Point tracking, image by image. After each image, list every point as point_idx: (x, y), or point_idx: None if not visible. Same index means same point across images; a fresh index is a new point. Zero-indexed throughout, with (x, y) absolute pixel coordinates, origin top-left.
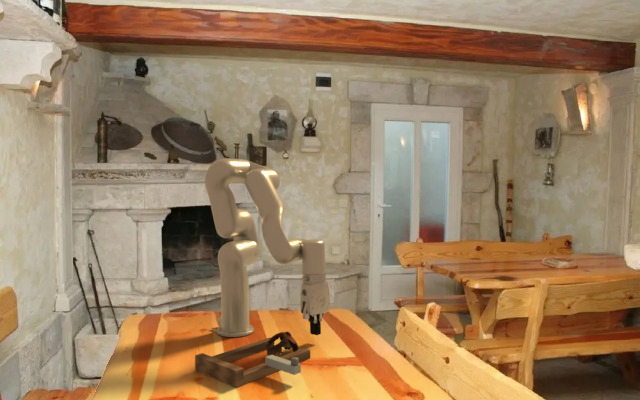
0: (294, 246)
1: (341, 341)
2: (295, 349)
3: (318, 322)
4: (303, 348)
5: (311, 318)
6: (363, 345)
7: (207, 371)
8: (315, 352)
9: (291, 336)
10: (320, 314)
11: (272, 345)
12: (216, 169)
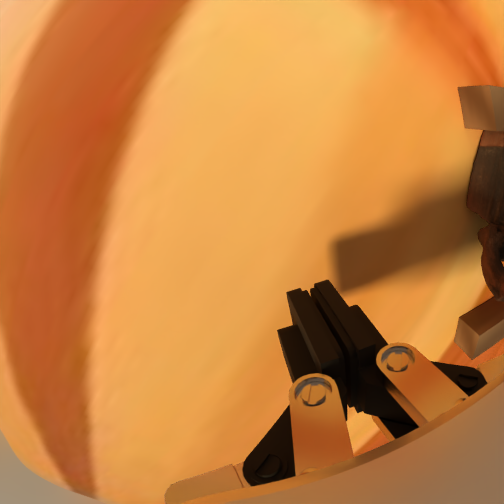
0: None
1: (122, 207)
2: (490, 189)
3: (337, 367)
4: (500, 130)
5: (469, 370)
6: (56, 62)
7: None
8: (404, 128)
9: (502, 275)
10: (336, 449)
11: (472, 317)
12: None
